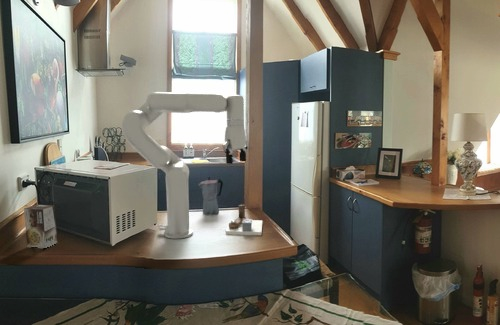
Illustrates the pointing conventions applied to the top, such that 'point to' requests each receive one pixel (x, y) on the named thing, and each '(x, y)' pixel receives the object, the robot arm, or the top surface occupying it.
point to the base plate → (238, 231)
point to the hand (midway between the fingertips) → (236, 162)
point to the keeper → (245, 224)
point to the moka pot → (210, 195)
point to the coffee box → (40, 226)
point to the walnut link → (240, 218)
